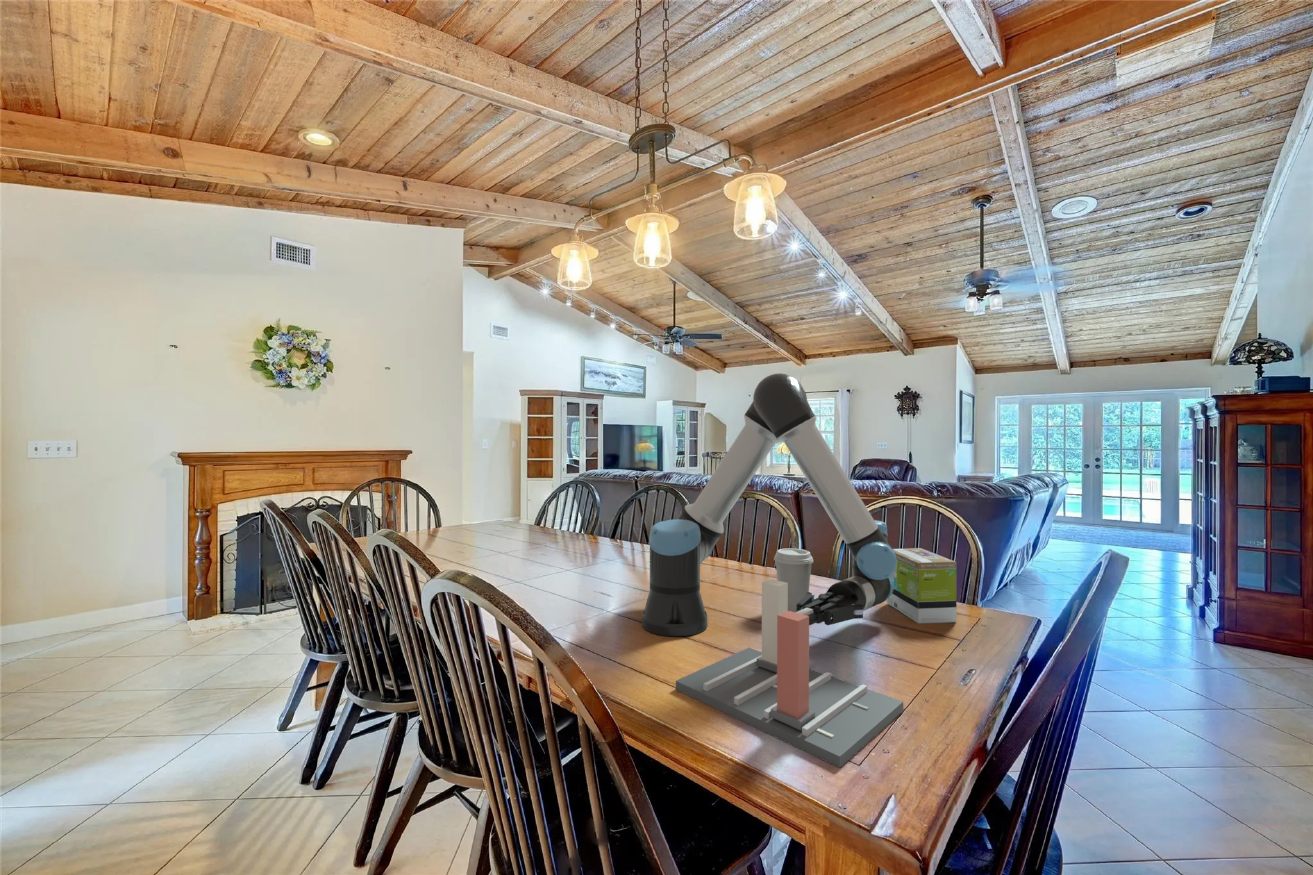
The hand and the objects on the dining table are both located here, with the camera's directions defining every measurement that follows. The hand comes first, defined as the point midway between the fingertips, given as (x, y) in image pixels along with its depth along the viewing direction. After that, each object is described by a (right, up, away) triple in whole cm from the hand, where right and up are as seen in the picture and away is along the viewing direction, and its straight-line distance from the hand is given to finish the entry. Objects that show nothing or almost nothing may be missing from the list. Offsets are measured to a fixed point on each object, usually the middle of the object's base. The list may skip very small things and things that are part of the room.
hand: (792, 623), depth 100 cm
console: (-4, -9, -12) cm, 15 cm away
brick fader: (-5, -7, -21) cm, 23 cm away
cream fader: (-4, -7, -3) cm, 9 cm away
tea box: (+40, -9, +32) cm, 52 cm away
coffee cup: (+9, -9, +32) cm, 35 cm away
